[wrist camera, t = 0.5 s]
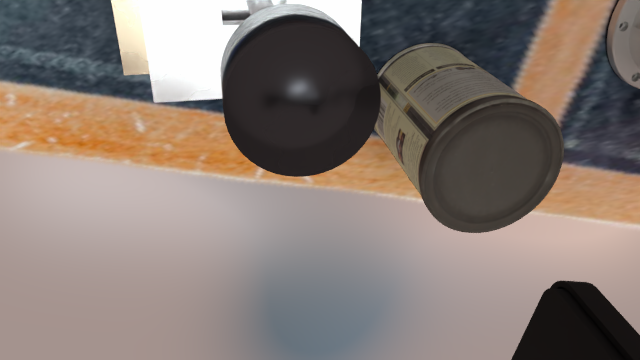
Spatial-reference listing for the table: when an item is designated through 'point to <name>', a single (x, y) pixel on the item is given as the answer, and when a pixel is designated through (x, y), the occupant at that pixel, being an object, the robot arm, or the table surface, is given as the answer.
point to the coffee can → (466, 138)
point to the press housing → (193, 42)
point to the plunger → (295, 87)
